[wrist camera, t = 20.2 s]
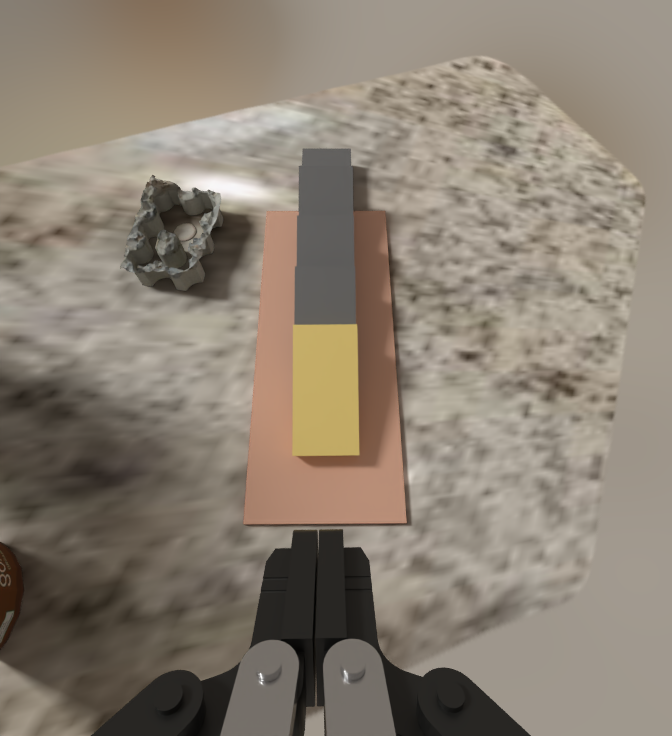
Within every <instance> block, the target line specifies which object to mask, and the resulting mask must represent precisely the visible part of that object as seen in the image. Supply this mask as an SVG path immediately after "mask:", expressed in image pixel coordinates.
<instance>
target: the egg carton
mask: <svg viewBox="0 0 672 736" xmlns="http://www.w3.org/2000/svg"><path fill="white" fill-rule="evenodd" d="M192 191H193V192H190V191H182V190H181V189H180V187H179V186H178V185H176V184H175V183H173V182H170V181H162V180H159V179H155V176H154V175H152V177H150V181H149V182H147V184H146V188H145V190H144V191H143V194H142V198H141V208H140V210H139V212H138V213H137V214H136V216H135V223H134V225H133V228H132V230H131V232H130V234H129V235H128V238H127V243H126V250H125V255H124V261H123V262H122V263H121V266H120V269H121V268H125V269H126V270H127V271H129V272H134V273H135V274H136V275H137V277H138V278H139V280H140V282H141V283H142V285H144V286H153V285H154V283H155V282H156V281H158V280H159V279H162V278H171V280H172V281H173V283H174V285H175V287H176V289H177V290H183V291H187V290H188V288H189V287H190V286H191V285H193V284H195V283H199V282H203V280H204V277H205V272H204V270H203V268H202V266H201V263H200V261H199V259H200V258H201V257H202V256H204V255H207V254H212V253H213V250H214V248H215V246H214V243H213V240H212V238H211V235H210V232H211V230H212V229H213V228H216V227H221V226H222V224H223V217H222V214H221V211H220V208H219V207H220V203H221V196H220V193H215V192H213V191H210V190H207V191H200V190H198V189H197V188H192ZM174 205H182V207H183V209H184V212H185V213H186V214H188V215H198V214H201V213H202V212H203V211H204V210H205V209H206V208H208V209H213V211H211V212H209V213H204V216H203V217H202V219H201V221H199V223H200V225H201V227H202V229H203V232H204V233H202V235H201V238H200V239H197V238H193V237H194V236H195V234H196V228H195V226H194V225H192V224H189V223H184V224H181V225H179V226H177V227H176V229H175V230H174V233H170V232H167V231H166V230H164V224H163V222H162V220H161V218H160V216H159V214H160V213H161V212H165V211H168V210H169V209H171V208H172V207H173V206H174ZM156 236H157V242H156V246H155V249H156V251H157V253H158V255H159V257H160V258H161V260H162V262H163V263H162V262H161V261H157V260H156V261H154V264H147V265H146V266H145V267H142V266H140V265H141V264H145V263H147V262H149V261H150V260H151V259H152V258H153V255H154V254H153V249H152V247H151V245H150V243H149V238H150V237H156ZM192 238H193V243H189V247H188V251H189V253H190V254H191V255H192V258H191V259H189V263H190V267H189V269H187V270H185V271H183V270H180V269H177V268H180V267H181V266H183V265H184V264H185V263H186V261H187V256H186V253H185V251H184V248H183V246H182V244H181V242H180V241H187V240H190V239H192ZM138 265H139V266H138ZM136 268H137V270H136ZM169 268H170V269H169Z"/></svg>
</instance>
